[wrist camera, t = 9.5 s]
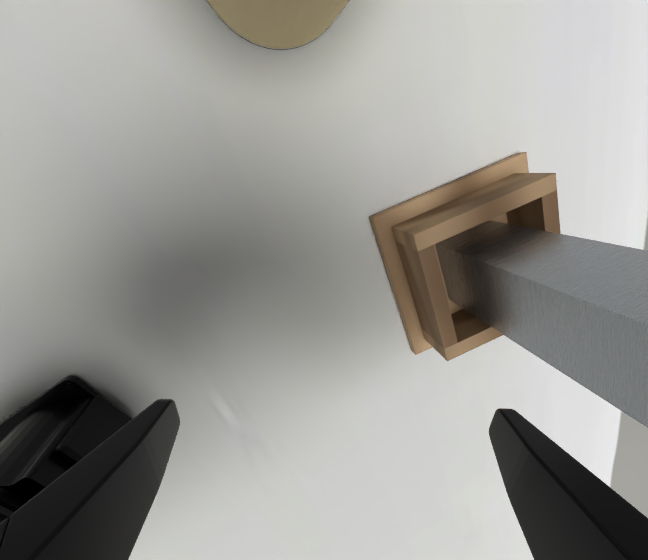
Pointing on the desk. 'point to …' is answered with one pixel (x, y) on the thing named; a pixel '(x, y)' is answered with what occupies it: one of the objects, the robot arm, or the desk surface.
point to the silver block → (559, 303)
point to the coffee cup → (278, 20)
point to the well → (444, 222)
